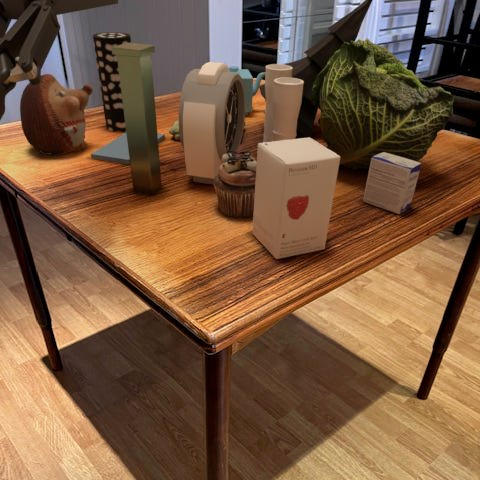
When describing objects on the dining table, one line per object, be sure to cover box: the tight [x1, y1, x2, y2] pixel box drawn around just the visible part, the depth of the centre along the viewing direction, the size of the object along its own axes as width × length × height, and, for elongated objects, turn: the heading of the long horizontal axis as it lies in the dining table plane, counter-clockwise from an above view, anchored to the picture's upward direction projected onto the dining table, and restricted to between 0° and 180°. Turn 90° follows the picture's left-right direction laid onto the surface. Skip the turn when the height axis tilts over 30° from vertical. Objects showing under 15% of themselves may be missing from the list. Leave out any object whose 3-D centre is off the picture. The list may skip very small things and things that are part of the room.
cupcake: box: [213, 150, 257, 219], centre depth 82 cm, size 10×10×10 cm
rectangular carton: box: [251, 137, 340, 260], centre depth 71 cm, size 9×9×15 cm
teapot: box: [228, 65, 266, 117], centre depth 128 cm, size 16×18×11 cm
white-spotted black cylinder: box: [92, 31, 132, 133], centre depth 112 cm, size 8×8×20 cm
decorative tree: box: [259, 0, 373, 139], centre depth 110 cm, size 15×15×35 cm
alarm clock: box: [178, 61, 246, 186], centre depth 90 cm, size 18×8×20 cm, turn 164°
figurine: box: [19, 73, 93, 156], centre depth 101 cm, size 14×16×15 cm
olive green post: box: [112, 42, 163, 196], centre depth 82 cm, size 5×5×24 cm
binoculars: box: [262, 63, 304, 143], centre depth 95 cm, size 17×5×18 cm, turn 5°
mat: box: [90, 132, 166, 165], centre depth 107 cm, size 18×9×1 cm, turn 162°
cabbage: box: [310, 37, 455, 170], centre depth 96 cm, size 25×24×23 cm
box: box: [362, 152, 422, 215], centre depth 85 cm, size 8×4×9 cm, turn 47°
